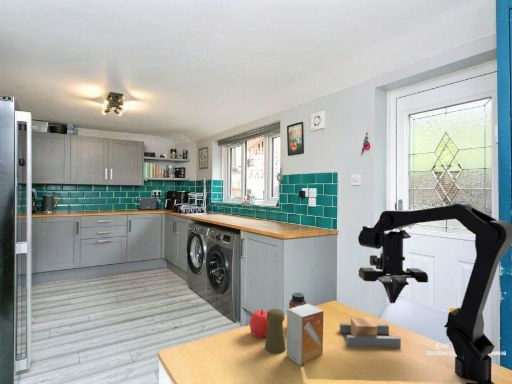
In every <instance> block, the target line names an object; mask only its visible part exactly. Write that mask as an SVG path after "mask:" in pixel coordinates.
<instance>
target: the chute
mask: <svg viewBox="0 0 512 384" xmlns="http://www.w3.org/2000/svg"><path fill="white" fill-rule="evenodd" d="M375 324H376V326H377V336H364V335H351V322H339V333H340V334H341V335H342V337H343V340H344V341H345V343H346V345H347V347H362V348H365V347H366V348H397V349H398V348H401V347H402V345H401V344H402V343H401V342H402V339H401V338H400V336H396V335H390V326H389V324H388V323H375Z"/></svg>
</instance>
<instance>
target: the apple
mask: <svg viewBox="0 0 512 384" xmlns="http://www.w3.org/2000/svg"><path fill="white" fill-rule="evenodd" d="M268 311H269V310H263V309H260V310H256V311H254V312H253V314H252V315H251V316H250V319H249V323H248V324H249V329H250V333H251V334H252V335H253V336H255V337H256V338H260V339H264V338H265V339H266V336H267V328H268V320H267V312H268Z"/></svg>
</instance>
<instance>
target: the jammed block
mask: <svg viewBox="0 0 512 384" xmlns="http://www.w3.org/2000/svg"><path fill="white" fill-rule="evenodd" d="M350 323H351V333H350V334H351V335H364V336H378V334H377V326H376V324H377V323H375V322H374V320H373V319H371V317H350Z"/></svg>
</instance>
